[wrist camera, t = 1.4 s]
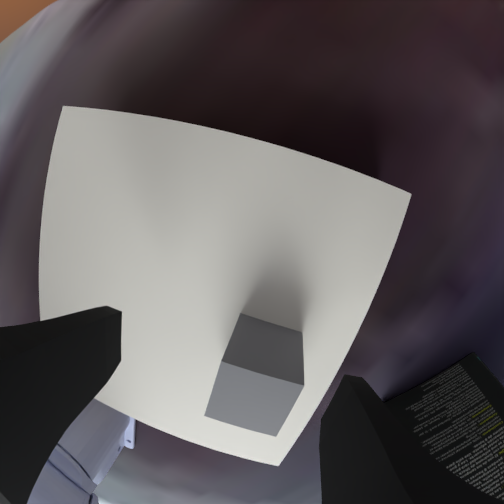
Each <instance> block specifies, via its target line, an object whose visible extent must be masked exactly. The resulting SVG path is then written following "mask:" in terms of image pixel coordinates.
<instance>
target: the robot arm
mask: <svg viewBox="0 0 504 504" xmlns="http://www.w3.org/2000/svg"><path fill="white" fill-rule="evenodd" d="M121 329H122V311H119V310H117V309H114V308H112V307H109V306H101V307H96V308H92V309H87V310H83V311H80V312H76V313H72V314H68V315H64V316H60V317H56V318H52V319H47V320H42V321H37V322H33V323H28V324H22V325H16V326H8V327H0V504H99V503H98V497H97V496H96V495H95V494H94V493H93V491H94V489H95V488H96V486H97V484H99V483H100V482H101V481H102V480H103V479H104V477H105V476H106V474H107V473H108V471H109V469H110V468H111V466H112V464H113V463H114V461H115V460H116V458H117V456H118V455H119V453H120V452H121V450H122V448H123V447H124V446H126V447H128V448H130V449H133V448H134V446H135V423H136V419H134V418H132V417H130V416H128V415H126V414H124V413H122V412H120V411H118V410H116V409H114V408H112V407H110V406H108V405H106V404H104V403H102V402H100V401H98V400H97V399H95V398H94V397H95V396H96V395H97V394H98V393H99V392H100V390H101V389H102V388H103V387H104V386H105V385H106V383H107V382H108V381H109V379H110V378H111V376H112V375H113V373H114V372H115V370H116V368H117V367H118V365H119V364H120V362H121ZM319 450H320V469H321V489H322V504H504V501H502V500H500V499H497V498H495V497H493V496H491V495H489V494H487V493H485V492H483V491H481V490H479V489H477V488H476V487H474V486H472V485H471V484H469V483H467V482H466V481H464V480H463V479H461V478H460V477H458V476H457V475H456V474H454V473H453V472H451V471H450V470H449V469H447V468H446V467H445V466H444V465H442V464H441V463H440V462H439V461H438V460H437V459H435V458H434V457H433V456H432V455H431V454H430V453H429V452H427V451H426V450H425V449H424V448H423V447H422V446H421V445H420V444H419V443H418V442H417V441H416V440H415V438H414V437H413V436H412V435H411V434H410V433H409V432H408V431H407V430H406V429H405V428H404V427H403V425H402V424H401V423H400V422H399V421H398V420H397V418H396V417H395V416H394V415H393V414H392V412H391V411H390V410H389V409H388V408H387V406H386V405H385V404H384V403H383V401H382V400H381V399H380V398H379V396H378V395H377V394H376V393H375V392H374V390H373V389H372V388H371V387H370V385H369V384H368V383H367V382H366V381H365V380H364V379H363V378H362V377H356V376H351V375H344V377H343V379H342V381H341V383H340V385H339V387H338V389H337V391H336V392H335V394H334V396H333V398H332V400H331V402H330V404H329V406H328V408H327V410H326V411H325V413H324V415H323V417H322V419H321V428H320V442H319Z"/></svg>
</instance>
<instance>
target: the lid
mask: <svg viewBox="0 0 504 504" xmlns="http://www.w3.org/2000/svg"><path fill="white" fill-rule="evenodd" d="M410 197H411V194H410V193H408V192H406V191H404V190H401V189H399V188H397V187H394V186H392V185H389V184H387V183H384V182H382V181H380V180H377V179H374V178H372V177H369V176H367V175H364V174H362V173H359V172H356V171H354V170H351V169H348V168H345V167H343V166H340V165H337V164H334V163H331V162H328V161H326V160H323V159H320V158H317V157H314V156H311V155H307V154H304V153H301V152H298V151H295V150H292V149H288V148H285V147H282V146H278V145H275V144H271V143H268V142H264V141H261V140H257V139H253V138H249V137H246V136H242V135H238V134H234V133H230V132H226V131H221V130H217V129H213V128H208V127H204V126H199V125H195V124H190V123H185V122H180V121H175V120H169V119H164V118H158V117H152V116H146V115H140V114H133V113H126V112H119V111H111V110H102V109H93V108H83V107H71V106H63V108H62V112H61V115H60V119H59V123H58V127H57V131H56V135H55V139H54V144H53V148H52V153H51V158H50V163H49V168H48V174H47V180H46V187H45V194H44V202H43V210H42V220H41V232H40V250H39V305H40V321H42V320H47V319H52V318H56V317H60V316H64V315H68V314H72V313H76V312H80V311H83V310H87V309H92V308H96V307H101V306H109V307H112V308H114V309H117V310H119V311H122V329H121V362H120V364H119V365H118V367H117V368H116V370H115V372H114V373H113V375H112V376H111V378H110V379H109V381H108V382H107V383H106V385H105V386H104V387H103V388H102V389H101V390H100V392H99V393H98V394H97V395H96V396H95V397H94V398H95V399H97V400H98V401H100V402H102V403H104V404H106V405H108V406H110V407H112V408H114V409H116V410H118V411H120V412H122V413H124V414H126V415H128V416H130V417H132V418H134V419H136V420H138V421H141V422H143V423H145V424H147V425H150V426H152V427H154V428H157V429H159V430H161V431H164V432H166V433H169V434H171V435H174V436H177V437H179V438H182V439H185V440H187V441H190V442H193V443H196V444H199V445H202V446H205V447H208V448H211V449H214V450H217V451H221V452H224V453H227V454H231V455H234V456H238V457H242V458H245V459H249V460H253V461H257V462H262V463H266V464H271V465H275V466H279V464H280V463H281V462H282V460H283V459H284V457H285V456H286V454H287V453H288V452H289V450H290V449H291V447H292V446H293V444H294V443H295V441H296V440H297V438H298V437H299V435H300V434H301V432H302V431H303V429H304V427H305V426H306V424H307V423H308V421H309V420H310V418H311V416H312V415H313V413H314V411H315V410H316V408H317V406H318V405H319V403H320V401H321V400H322V398H323V396H324V395H325V393H326V391H327V389H328V388H329V386H330V384H331V382H332V381H333V379H334V377H335V375H336V373H337V371H338V370H339V368H340V366H341V364H342V362H343V360H344V358H345V356H346V354H347V352H348V350H349V349H350V347H351V345H352V343H353V341H354V339H355V336H356V334H357V332H358V330H359V328H360V326H361V324H362V322H363V320H364V318H365V315H366V313H367V311H368V309H369V307H370V304H371V302H372V300H373V297H374V295H375V293H376V291H377V288H378V286H379V283H380V281H381V279H382V276H383V274H384V271H385V269H386V266H387V264H388V261H389V258H390V256H391V253H392V250H393V248H394V245H395V242H396V240H397V237H398V234H399V231H400V228H401V225H402V222H403V219H404V216H405V213H406V210H407V207H408V204H409V201H410Z"/></svg>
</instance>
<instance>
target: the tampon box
mask: <svg viewBox="0 0 504 504" xmlns="http://www.w3.org/2000/svg"><path fill="white" fill-rule="evenodd" d="M384 404H385V405H386V406H387V408H388V409H389V410H390V411H391V412H392V414H393V415H394V416H395V417H396V418H397V420H398V421H399V422H400V423H401V424H402V425H403V427H404V428H405V429H406V430H407V431H408V432H409V433H410V434H411V435H412V436H413V437H414V438H415V440H416V441H417V442H418V443H419V444H420V445H421V446H422V447H423V448H424V449H425V450H426V451H427V452H429V453H430V454H431V455H432V456H433V457H434V458H435V459H437V460H438V461H439V462H440V463H441V464H442V465H444V466H445V467H446V468H447V469H449V470H450V471H451V472H453V473H454V474H456V475H457V476H458V477H460V478H461V479H463V480H464V481H466V482H467V483H469V484H471V485H472V486H474V487H476V488H477V489H479V490H481V491H483V492H485V493H487V494H489V495H491V496H493V497H495V498H497V499H500V500H502V501H504V387H503V385H502V384H501V383H500V382H499V381H498V379H497V378H496V377H495V376H494V375H493V373H492V372H491V371H490V370H489V369H488V368H487V366H486V365H485V364H484V363H483V362H482V361H481V360H480V359H479V357H478V356H477V355H476V354H475V353H474V352H473V353H471V354H470V355H468V356H467V357H465V358H464V359H462V360H461V361H459V362H458V363H456V364H455V365H453V366H451V367H450V368H448V369H446V370H445V371H443V372H441V373H440V374H438V375H436V376H435V377H433V378H431V379H430V380H428V381H426V382H424V383H422V384H421V385H419V386H417V387H415V388H413V389H411V390H409V391H407V392H405V393H403V394H401V395H399V396H397V397H395V398H393V399H391V400H389V401H387V402H385V403H384Z"/></svg>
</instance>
